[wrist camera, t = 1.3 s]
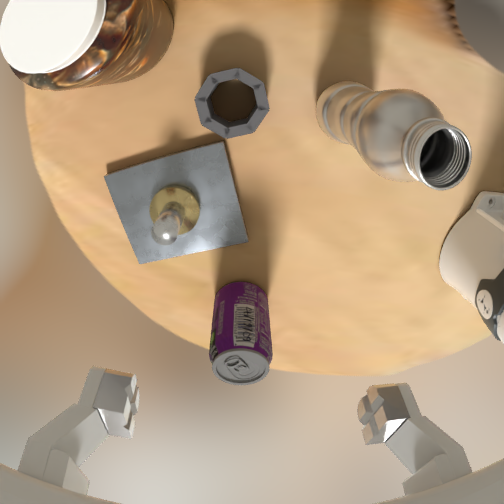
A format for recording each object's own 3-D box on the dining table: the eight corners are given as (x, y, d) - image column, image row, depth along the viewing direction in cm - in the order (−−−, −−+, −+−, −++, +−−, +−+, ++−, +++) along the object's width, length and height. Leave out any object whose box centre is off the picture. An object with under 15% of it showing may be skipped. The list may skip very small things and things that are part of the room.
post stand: (223, 140, 33) (218, 156, 27) (248, 237, 39) (249, 271, 33) (107, 173, 34) (81, 196, 28) (141, 259, 40) (126, 293, 34)
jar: (155, -32, 22) (100, -85, 9) (188, 56, 28) (145, 44, 15) (61, 18, 24) (-26, 9, 11) (91, 101, 30) (8, 128, 17)
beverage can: (204, 296, 43) (194, 365, 33) (245, 268, 41) (246, 337, 31) (237, 326, 46) (236, 394, 36) (277, 302, 44) (286, 371, 34)
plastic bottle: (300, 95, 30) (370, 125, 13) (356, 71, 29) (475, 82, 12) (326, 148, 33) (409, 235, 16) (379, 123, 32) (497, 187, 15)
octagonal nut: (257, 64, 29) (259, 63, 25) (270, 122, 32) (273, 128, 28) (195, 79, 29) (189, 79, 26) (210, 135, 32) (206, 143, 29)
